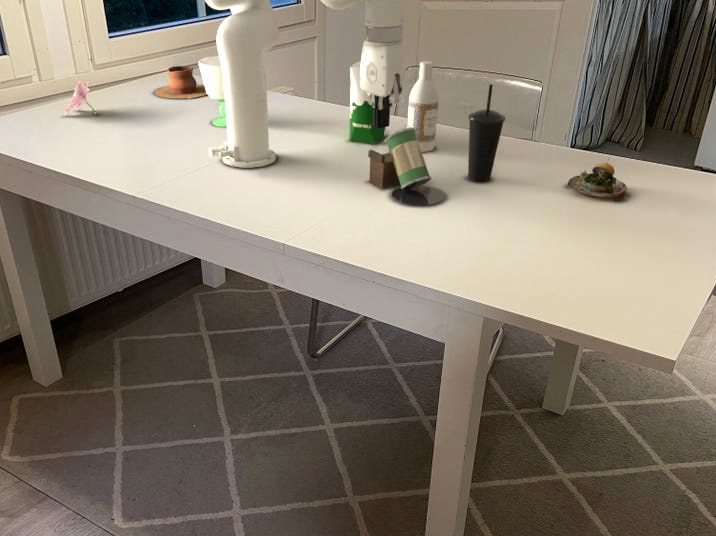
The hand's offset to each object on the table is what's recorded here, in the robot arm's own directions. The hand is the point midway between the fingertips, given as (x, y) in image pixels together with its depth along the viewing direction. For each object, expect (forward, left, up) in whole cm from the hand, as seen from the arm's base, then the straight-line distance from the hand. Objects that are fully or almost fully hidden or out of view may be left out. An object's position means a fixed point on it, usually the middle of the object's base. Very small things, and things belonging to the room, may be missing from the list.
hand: (381, 126), depth 154 cm
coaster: (0, -15, -11) cm, 18 cm away
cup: (-11, +56, -11) cm, 58 cm away
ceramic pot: (-9, +94, -11) cm, 95 cm away
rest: (0, -5, -11) cm, 12 cm away
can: (0, -11, -4) cm, 11 cm away
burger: (+34, -32, -11) cm, 48 cm away
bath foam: (+20, +11, -11) cm, 25 cm away
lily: (-43, +85, -11) cm, 96 cm away
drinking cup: (+18, -13, -11) cm, 25 cm away
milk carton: (+13, +24, -11) cm, 29 cm away
